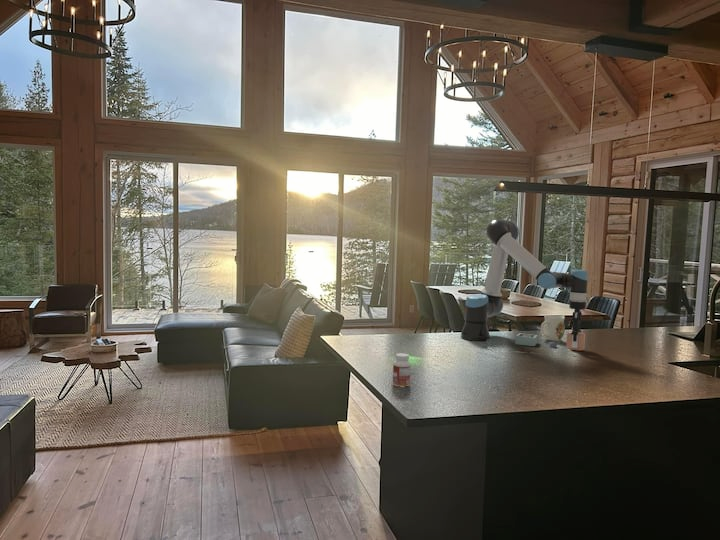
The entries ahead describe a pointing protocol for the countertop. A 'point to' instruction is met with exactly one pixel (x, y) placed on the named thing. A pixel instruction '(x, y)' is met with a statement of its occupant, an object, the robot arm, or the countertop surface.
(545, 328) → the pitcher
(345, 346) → the countertop surface
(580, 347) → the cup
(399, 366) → the pill bottle
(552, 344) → the ball
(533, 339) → the crate
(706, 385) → the countertop surface
